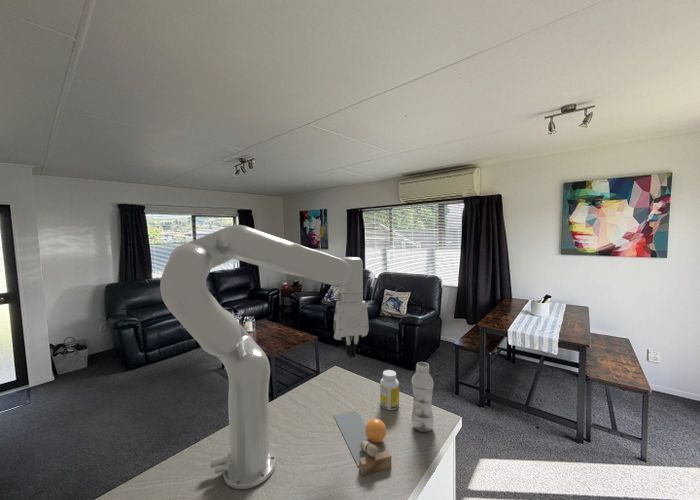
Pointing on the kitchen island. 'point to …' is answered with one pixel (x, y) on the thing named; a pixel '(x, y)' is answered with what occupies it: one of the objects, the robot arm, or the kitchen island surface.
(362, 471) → the back wall
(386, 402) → the pill bottle
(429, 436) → the kitchen island surface
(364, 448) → the pin
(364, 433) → the plate
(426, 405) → the plastic bottle
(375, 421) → the ball
